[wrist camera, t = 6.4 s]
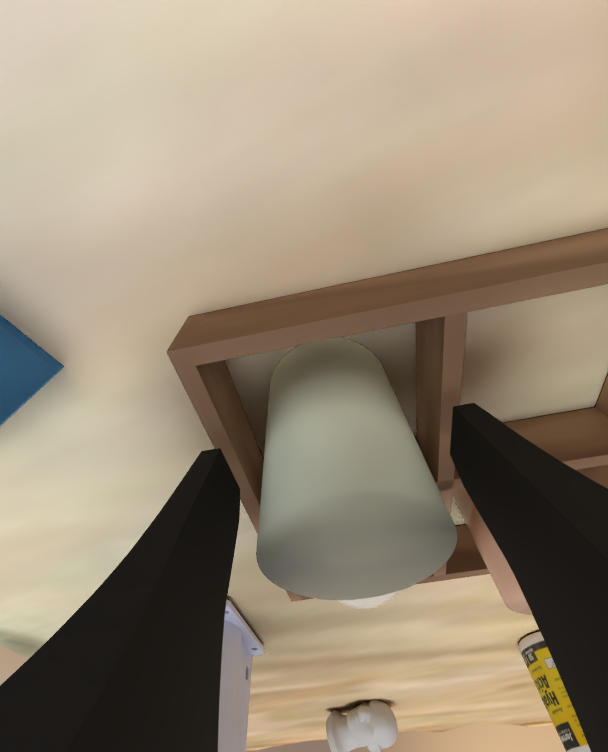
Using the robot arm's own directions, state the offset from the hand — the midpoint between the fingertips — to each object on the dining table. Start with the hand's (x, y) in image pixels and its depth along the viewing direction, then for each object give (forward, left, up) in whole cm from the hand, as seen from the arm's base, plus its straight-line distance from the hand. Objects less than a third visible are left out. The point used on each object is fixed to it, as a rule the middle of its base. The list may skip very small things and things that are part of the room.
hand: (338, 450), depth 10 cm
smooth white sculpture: (-46, +4, -4) cm, 47 cm away
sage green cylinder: (0, 0, -3) cm, 3 cm away
